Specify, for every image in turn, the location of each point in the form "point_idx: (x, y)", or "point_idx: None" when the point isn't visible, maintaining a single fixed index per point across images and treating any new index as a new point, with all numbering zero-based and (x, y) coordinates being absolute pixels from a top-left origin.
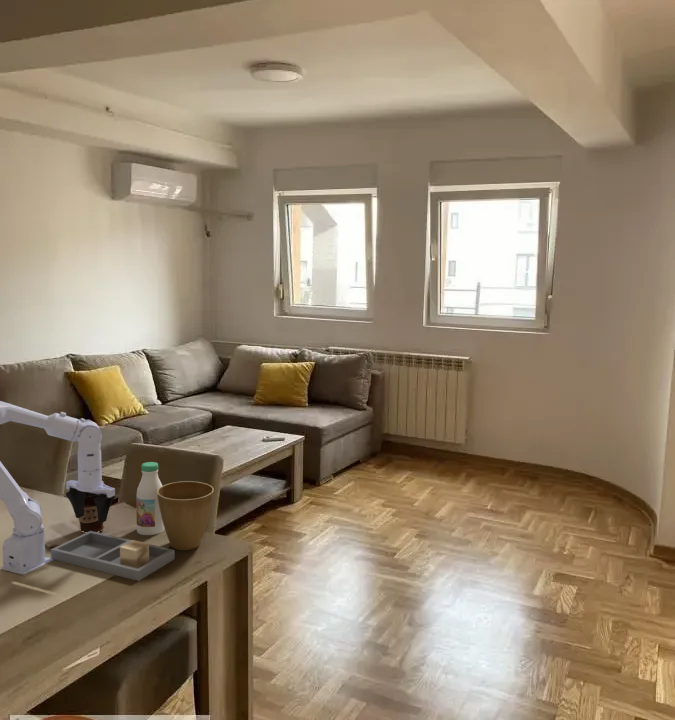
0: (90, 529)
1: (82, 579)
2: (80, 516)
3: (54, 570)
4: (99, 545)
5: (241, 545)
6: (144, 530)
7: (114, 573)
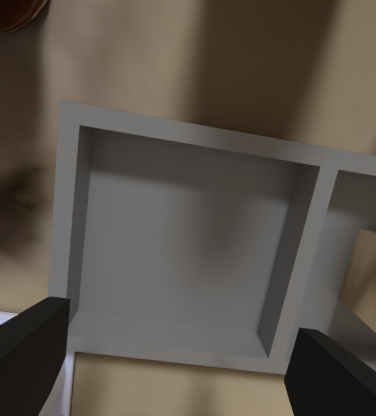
0: (6, 15)
1: (254, 390)
2: (66, 335)
3: (130, 369)
4: (158, 156)
5: None
6: None
7: None
